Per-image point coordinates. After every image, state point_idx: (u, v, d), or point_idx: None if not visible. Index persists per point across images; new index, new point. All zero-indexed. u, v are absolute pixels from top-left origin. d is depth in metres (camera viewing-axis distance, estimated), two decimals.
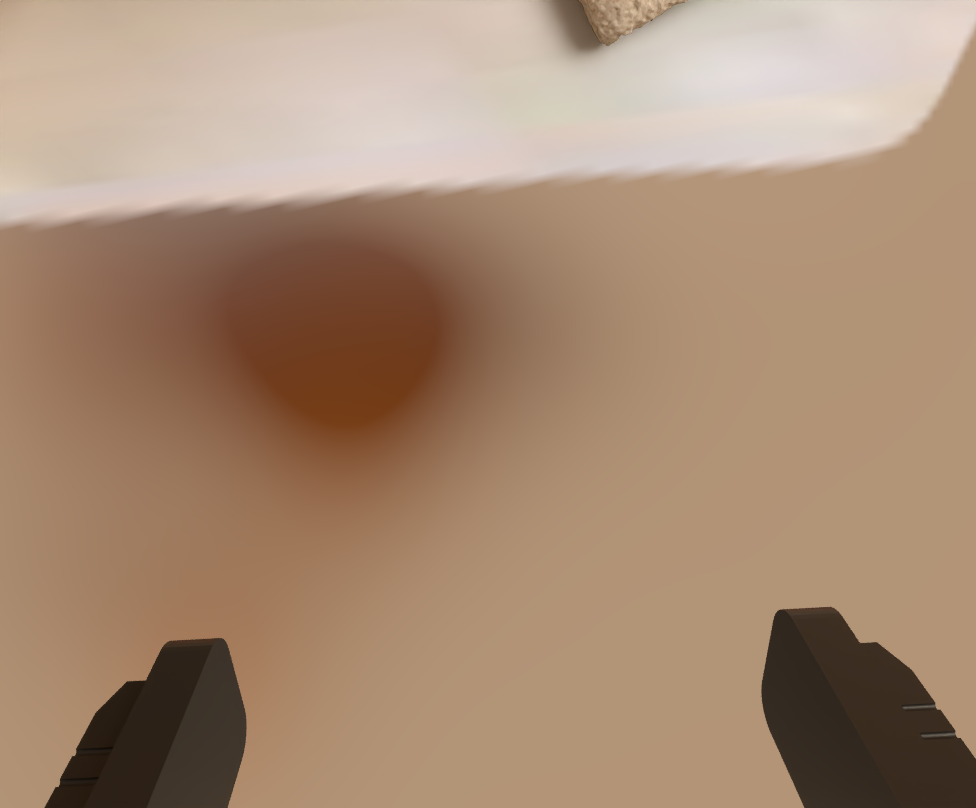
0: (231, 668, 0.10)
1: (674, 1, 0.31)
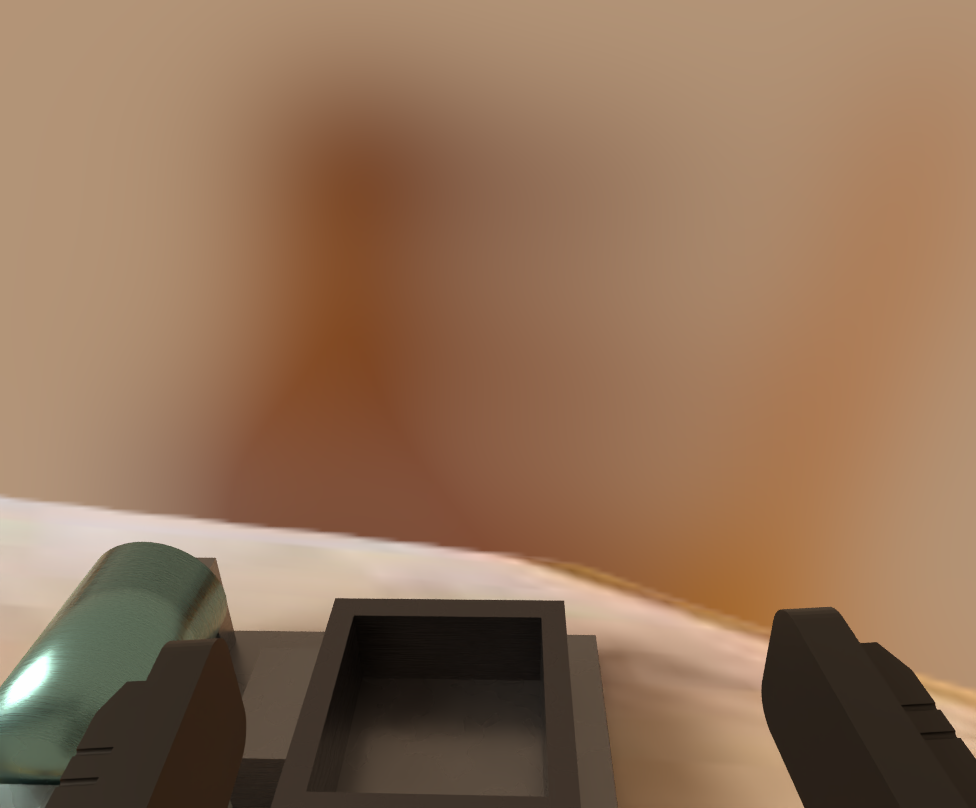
0: (231, 668, 0.11)
1: None
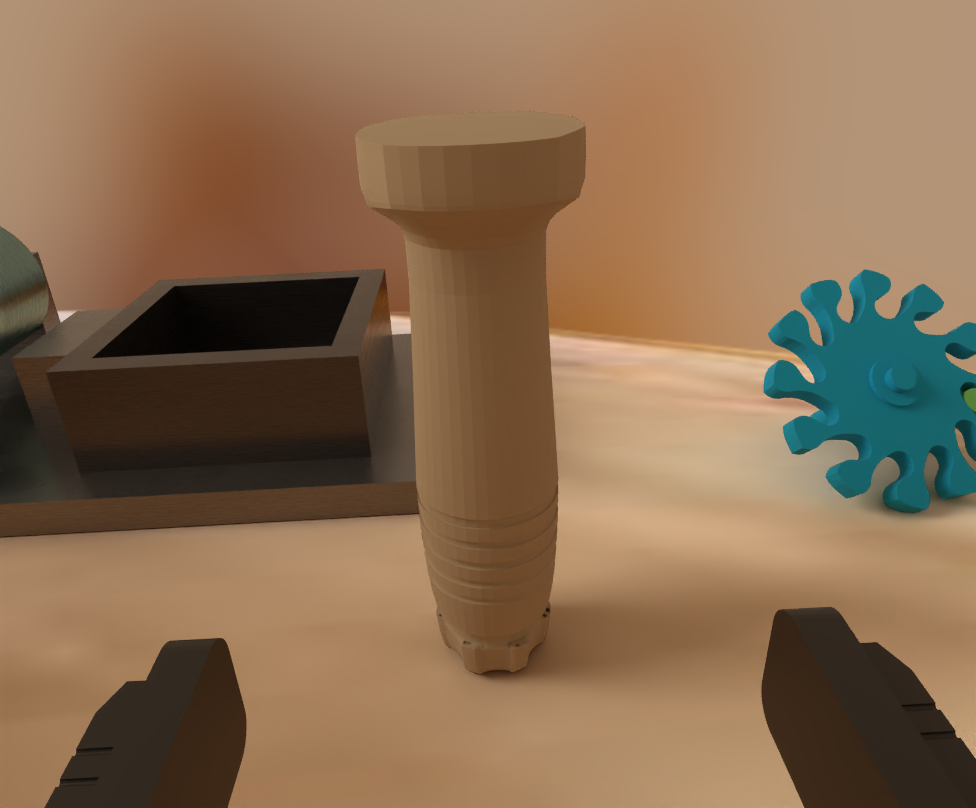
0: (231, 668, 0.10)
1: None
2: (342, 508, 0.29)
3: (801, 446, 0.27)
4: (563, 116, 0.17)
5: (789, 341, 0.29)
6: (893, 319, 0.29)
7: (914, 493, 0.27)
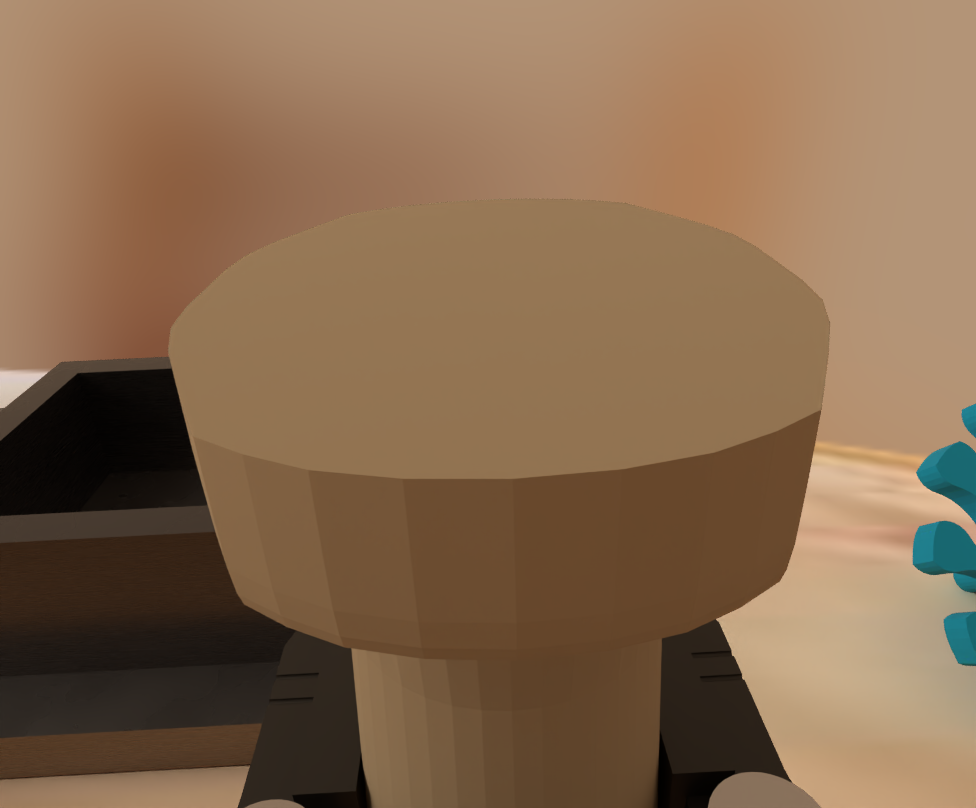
0: None
1: None
2: None
3: None
4: (710, 232, 0.07)
5: (952, 488, 0.20)
6: None
7: None
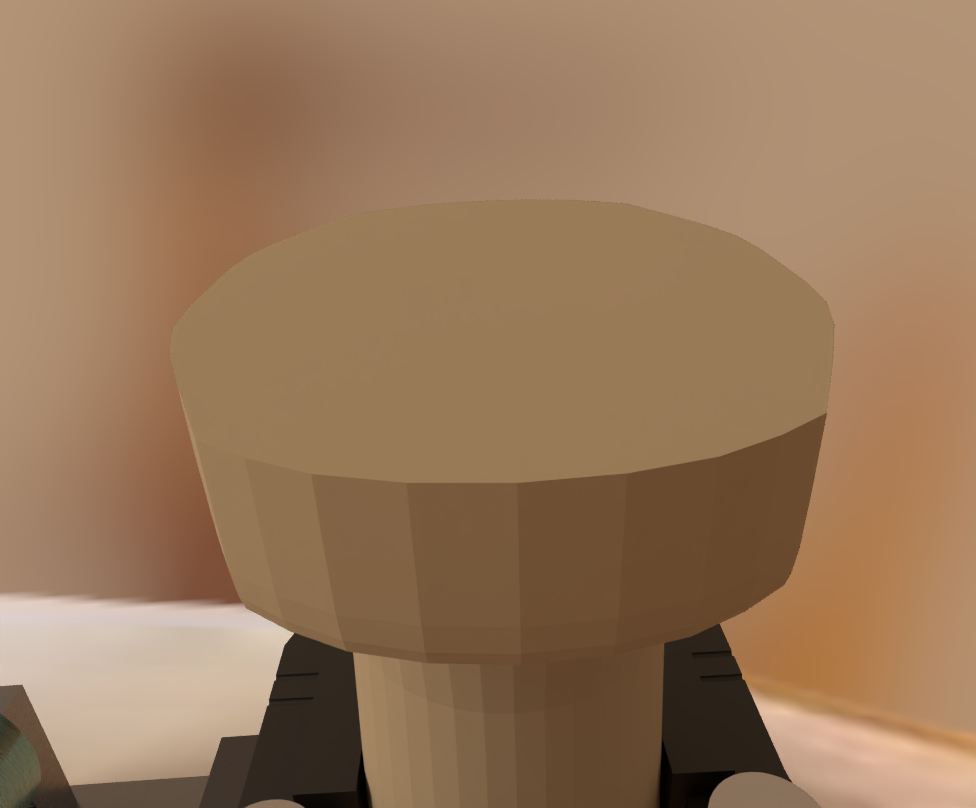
0: None
1: None
2: None
3: None
4: (713, 234, 0.07)
5: None
6: None
7: None
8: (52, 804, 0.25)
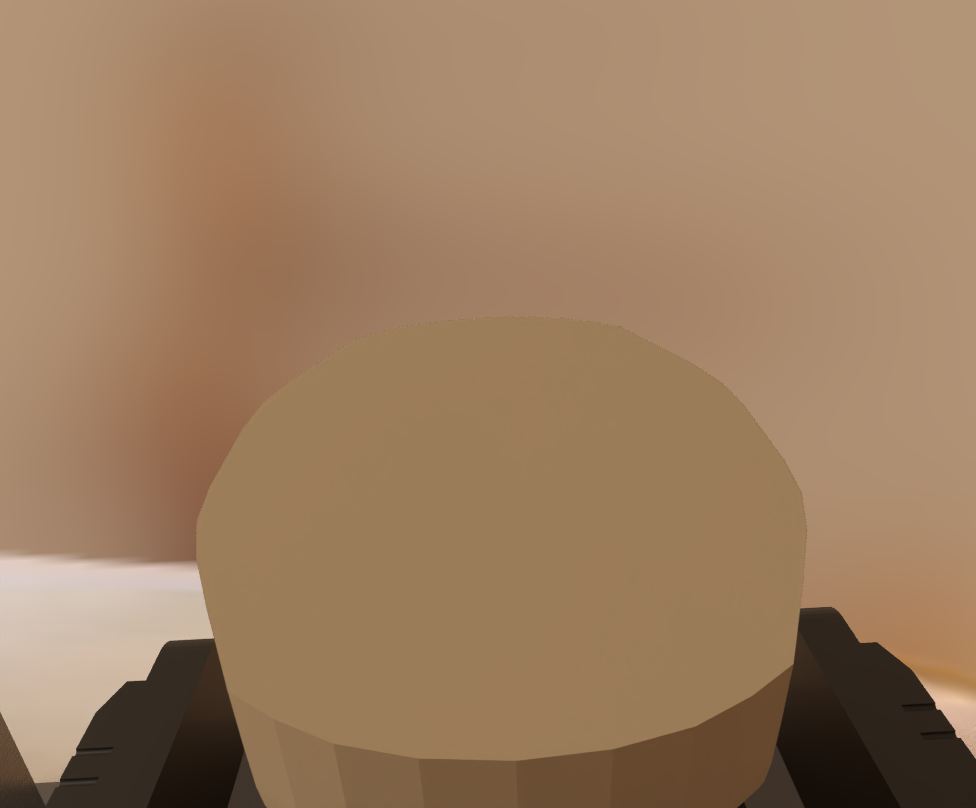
0: None
1: None
2: None
3: None
4: (700, 380, 0.08)
5: None
6: None
7: None
8: None
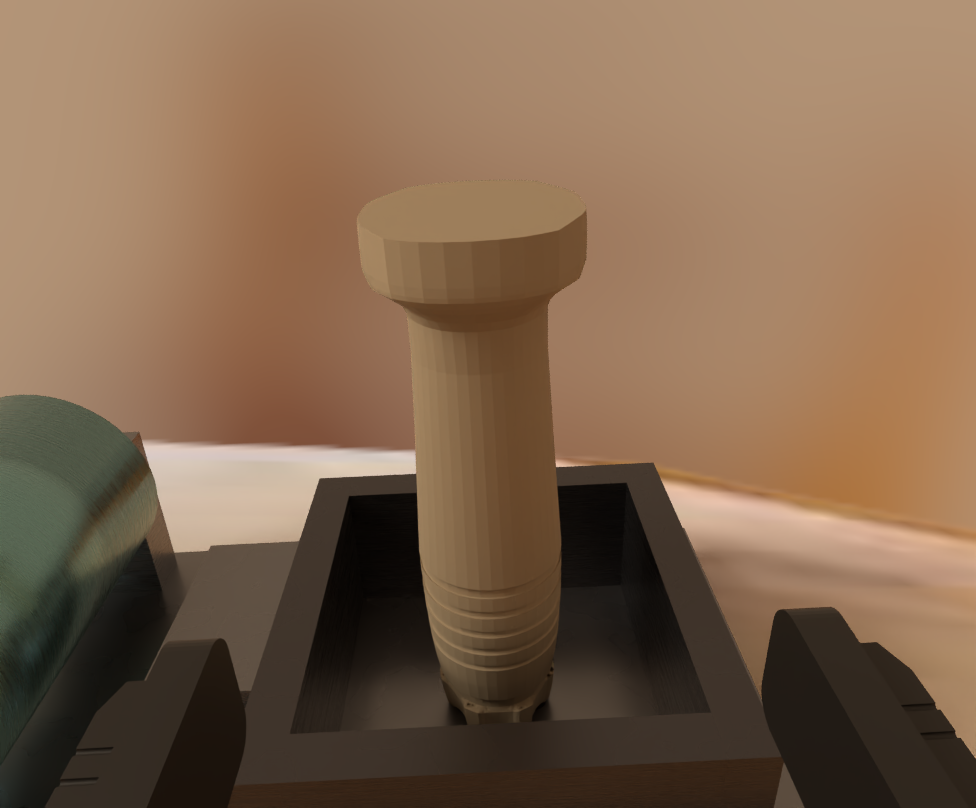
0: (231, 668, 0.10)
1: None
2: None
3: None
4: (564, 191, 0.17)
5: None
6: None
7: None
8: (159, 552, 0.28)
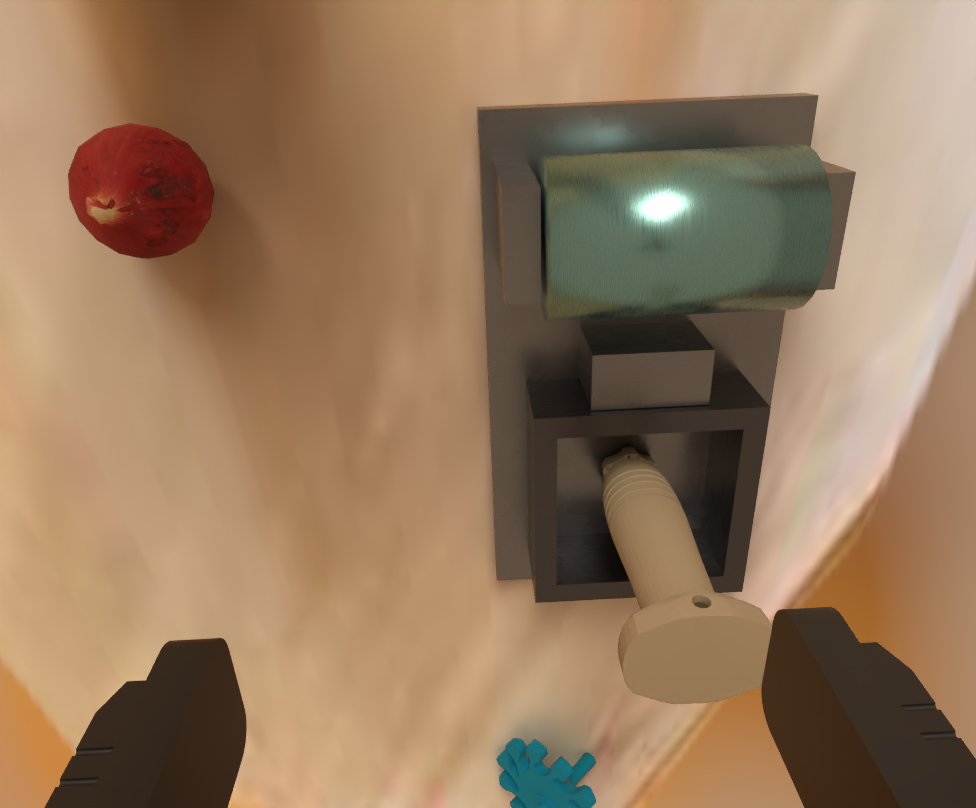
0: (231, 668, 0.10)
1: None
2: None
3: (528, 746, 0.52)
4: (721, 697, 0.31)
5: (577, 791, 0.50)
6: None
7: (502, 762, 0.55)
8: None
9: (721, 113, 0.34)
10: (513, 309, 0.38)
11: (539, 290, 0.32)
